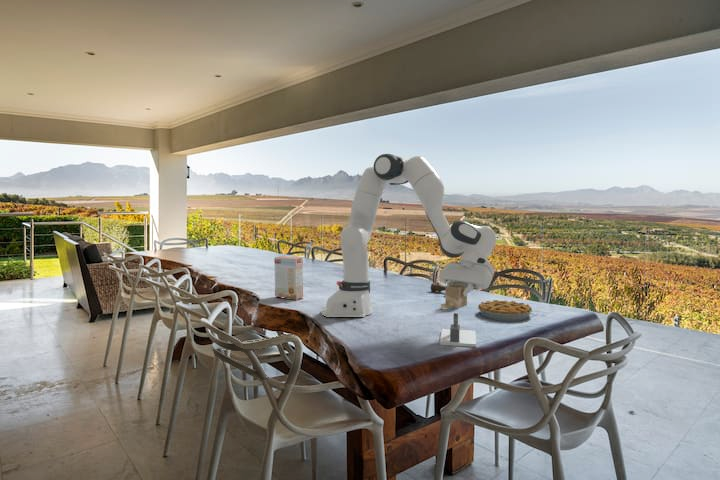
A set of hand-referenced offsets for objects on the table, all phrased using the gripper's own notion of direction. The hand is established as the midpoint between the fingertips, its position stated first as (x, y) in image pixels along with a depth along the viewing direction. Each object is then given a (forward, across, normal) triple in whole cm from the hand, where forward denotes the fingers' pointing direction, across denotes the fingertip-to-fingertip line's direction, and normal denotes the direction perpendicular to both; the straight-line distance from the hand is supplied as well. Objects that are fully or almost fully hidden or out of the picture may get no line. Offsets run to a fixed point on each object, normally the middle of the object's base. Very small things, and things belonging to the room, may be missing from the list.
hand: (455, 293), depth 163 cm
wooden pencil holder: (+4, 0, +2) cm, 5 cm away
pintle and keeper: (+14, +3, +8) cm, 16 cm away
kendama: (-31, -48, +53) cm, 78 cm away
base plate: (+12, +3, +9) cm, 16 cm away
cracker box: (+17, -96, +5) cm, 97 cm away
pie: (-17, -4, +40) cm, 43 cm away
